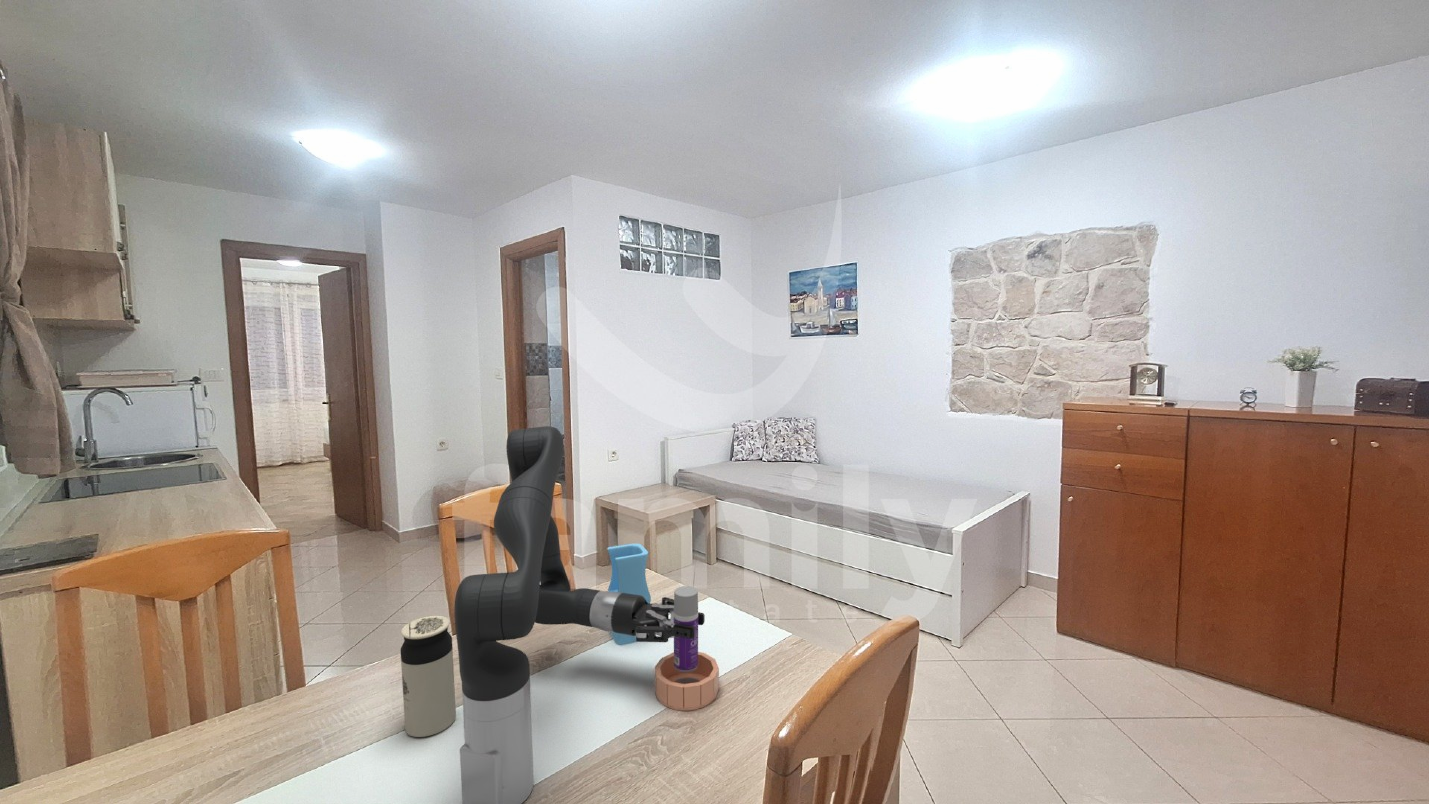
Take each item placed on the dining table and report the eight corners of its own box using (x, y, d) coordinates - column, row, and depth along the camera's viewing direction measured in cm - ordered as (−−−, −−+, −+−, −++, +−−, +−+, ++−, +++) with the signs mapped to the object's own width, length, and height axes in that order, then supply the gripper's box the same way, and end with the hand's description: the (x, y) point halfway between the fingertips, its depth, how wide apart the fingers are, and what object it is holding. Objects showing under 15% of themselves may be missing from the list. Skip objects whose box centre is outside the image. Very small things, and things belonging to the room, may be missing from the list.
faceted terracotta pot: (706, 716, 98) (706, 692, 98) (645, 703, 102) (645, 680, 101) (725, 678, 110) (725, 656, 109) (669, 668, 113) (669, 646, 113)
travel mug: (457, 704, 102) (452, 611, 100) (454, 731, 94) (449, 632, 93) (409, 714, 99) (403, 619, 97) (401, 744, 92) (395, 641, 90)
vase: (608, 630, 129) (606, 547, 127) (641, 622, 132) (639, 542, 130) (617, 646, 122) (615, 559, 120) (651, 638, 125) (650, 553, 123)
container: (694, 674, 103) (695, 597, 101) (670, 671, 104) (670, 595, 102) (700, 660, 107) (700, 586, 106) (677, 657, 108) (677, 584, 107)
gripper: (600, 610, 102) (686, 625, 97) (634, 579, 115) (711, 590, 110) (600, 649, 102) (686, 665, 97) (634, 613, 116) (711, 626, 111)
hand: (699, 625), depth 104 cm, fingers closed on container, 4 cm apart
